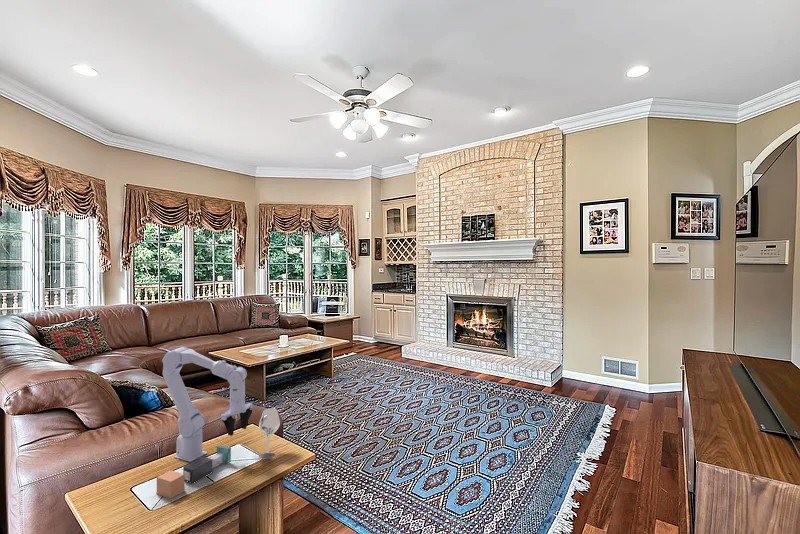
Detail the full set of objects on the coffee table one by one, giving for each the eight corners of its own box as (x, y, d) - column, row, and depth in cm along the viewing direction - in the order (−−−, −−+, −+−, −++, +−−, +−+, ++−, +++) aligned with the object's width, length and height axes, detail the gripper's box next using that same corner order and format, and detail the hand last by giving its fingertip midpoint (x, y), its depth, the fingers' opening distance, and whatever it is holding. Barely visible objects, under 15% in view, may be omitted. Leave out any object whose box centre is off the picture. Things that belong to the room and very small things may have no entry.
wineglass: (282, 455, 151) (284, 411, 163) (269, 450, 145) (272, 405, 157) (265, 461, 153) (268, 417, 165) (252, 456, 147) (255, 411, 159)
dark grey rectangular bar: (183, 480, 135) (183, 466, 135) (202, 469, 143) (202, 456, 143) (193, 483, 133) (193, 469, 133) (212, 472, 141) (212, 459, 141)
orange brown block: (156, 493, 127) (156, 477, 128) (170, 485, 132) (170, 470, 132) (170, 498, 125) (170, 481, 125) (184, 490, 129) (184, 474, 129)
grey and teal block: (181, 480, 135) (181, 464, 135) (219, 459, 150) (219, 444, 150) (192, 483, 133) (192, 467, 133) (230, 462, 148) (230, 447, 148)
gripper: (230, 405, 147) (230, 440, 146) (258, 394, 160) (258, 426, 160) (217, 402, 149) (217, 437, 149) (245, 392, 163) (245, 423, 162)
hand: (237, 431), depth 155 cm, fingers open, 6 cm apart
